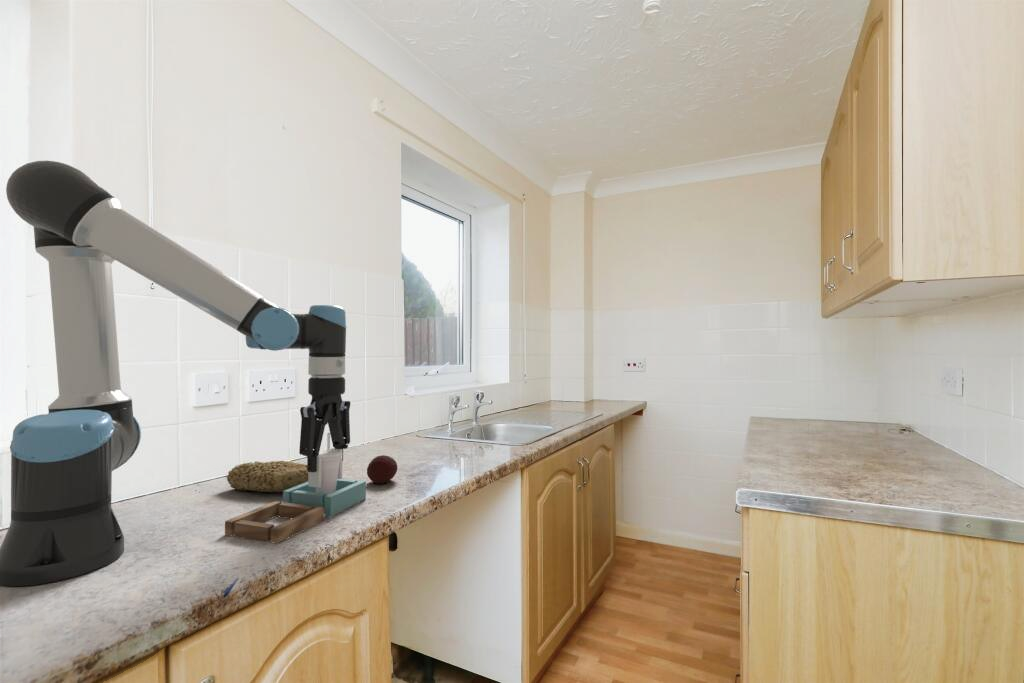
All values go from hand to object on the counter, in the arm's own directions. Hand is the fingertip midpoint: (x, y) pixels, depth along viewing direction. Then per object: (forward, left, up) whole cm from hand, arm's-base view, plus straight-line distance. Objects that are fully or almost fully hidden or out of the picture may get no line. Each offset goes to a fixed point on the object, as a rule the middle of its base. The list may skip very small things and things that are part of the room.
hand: (325, 482), depth 105 cm
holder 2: (0, 0, -5) cm, 5 cm away
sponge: (+5, +18, -5) cm, 20 cm away
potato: (+19, -2, -5) cm, 20 cm away
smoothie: (0, 0, -4) cm, 4 cm away
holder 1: (-14, 0, -5) cm, 15 cm away
